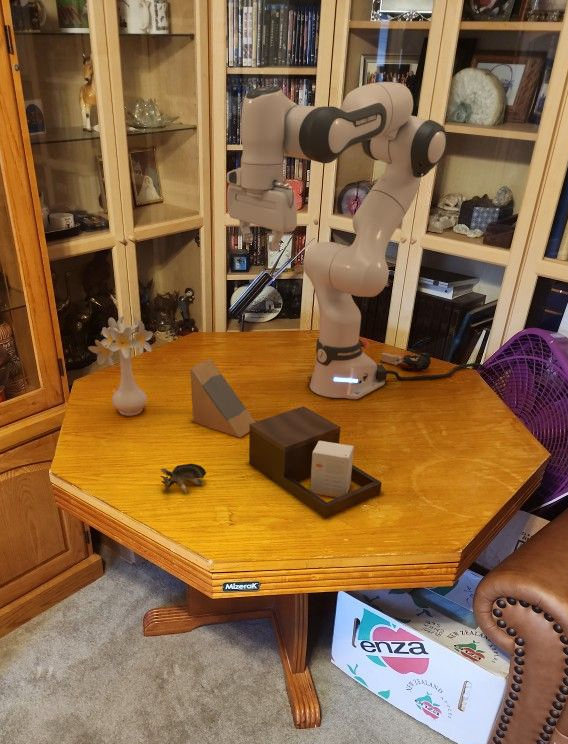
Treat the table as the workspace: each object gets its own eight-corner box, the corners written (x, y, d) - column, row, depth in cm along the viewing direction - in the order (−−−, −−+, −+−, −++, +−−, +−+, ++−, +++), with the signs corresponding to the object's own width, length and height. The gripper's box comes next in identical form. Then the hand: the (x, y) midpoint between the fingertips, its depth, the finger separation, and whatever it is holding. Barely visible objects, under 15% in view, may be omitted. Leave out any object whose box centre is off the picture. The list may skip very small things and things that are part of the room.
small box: (350, 486, 148) (355, 445, 142) (345, 500, 143) (349, 458, 137) (315, 480, 150) (318, 439, 144) (309, 493, 145) (312, 451, 140)
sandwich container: (240, 438, 166) (240, 382, 158) (192, 421, 173) (189, 368, 165) (259, 425, 172) (260, 370, 163) (212, 409, 179) (210, 357, 171)
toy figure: (377, 368, 204) (426, 374, 198) (379, 347, 201) (429, 353, 195) (383, 362, 210) (431, 368, 204) (385, 342, 207) (434, 348, 201)
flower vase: (92, 424, 172) (79, 330, 158) (123, 394, 186) (114, 306, 172) (138, 431, 169) (129, 336, 155) (166, 401, 183) (160, 311, 169)
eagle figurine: (175, 500, 141) (211, 482, 144) (160, 469, 140) (198, 452, 143) (167, 500, 148) (202, 483, 151) (153, 471, 147) (189, 454, 150)
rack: (301, 444, 164) (303, 405, 158) (380, 493, 145) (386, 452, 140) (248, 463, 156) (249, 424, 150) (325, 518, 138) (329, 475, 132)
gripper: (305, 182, 134) (302, 253, 142) (245, 170, 147) (244, 236, 155) (281, 185, 131) (279, 258, 138) (221, 172, 144) (222, 239, 152)
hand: (260, 246), depth 147 cm, fingers open, 8 cm apart
